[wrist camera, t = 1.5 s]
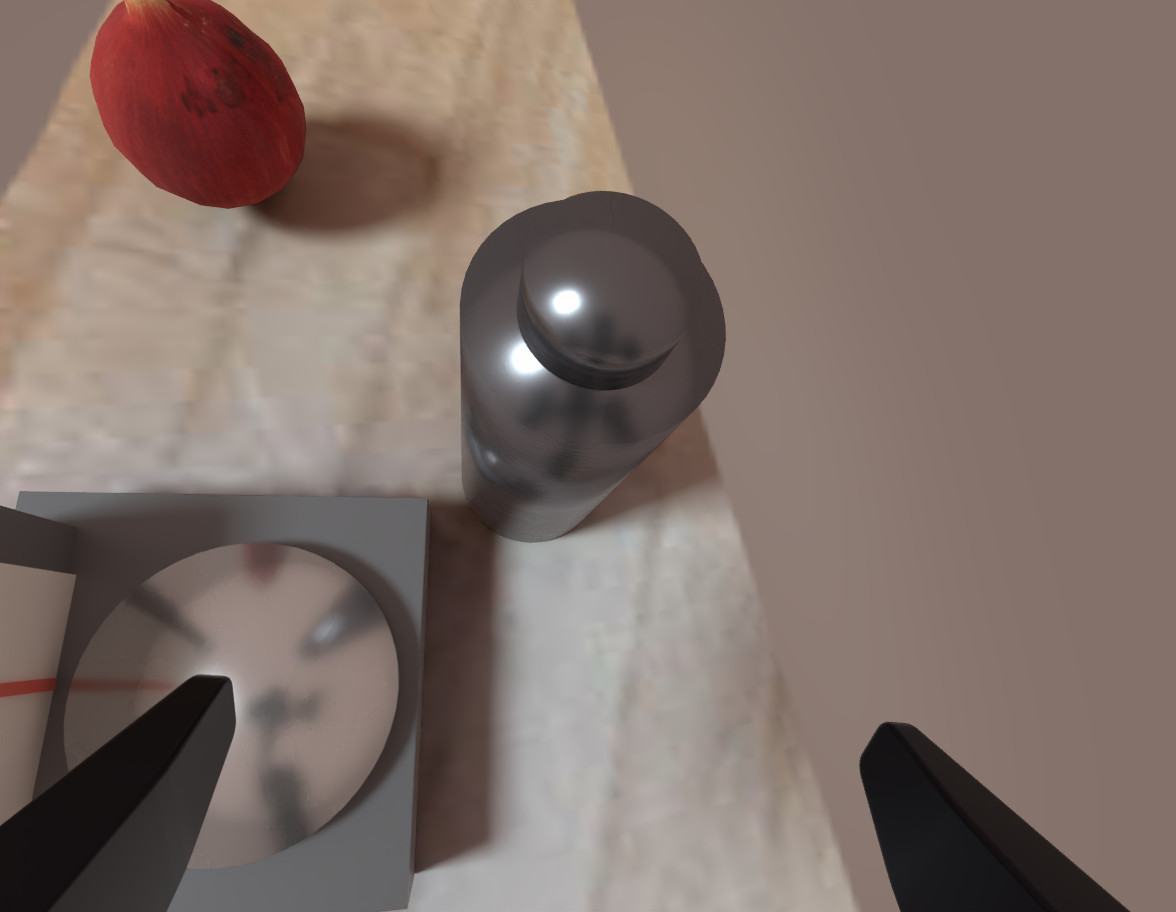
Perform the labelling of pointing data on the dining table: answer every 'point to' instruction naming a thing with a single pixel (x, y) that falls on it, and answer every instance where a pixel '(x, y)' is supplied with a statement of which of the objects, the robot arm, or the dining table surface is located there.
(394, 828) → the scale
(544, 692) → the dining table surface
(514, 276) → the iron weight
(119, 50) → the onion
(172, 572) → the scale pan
